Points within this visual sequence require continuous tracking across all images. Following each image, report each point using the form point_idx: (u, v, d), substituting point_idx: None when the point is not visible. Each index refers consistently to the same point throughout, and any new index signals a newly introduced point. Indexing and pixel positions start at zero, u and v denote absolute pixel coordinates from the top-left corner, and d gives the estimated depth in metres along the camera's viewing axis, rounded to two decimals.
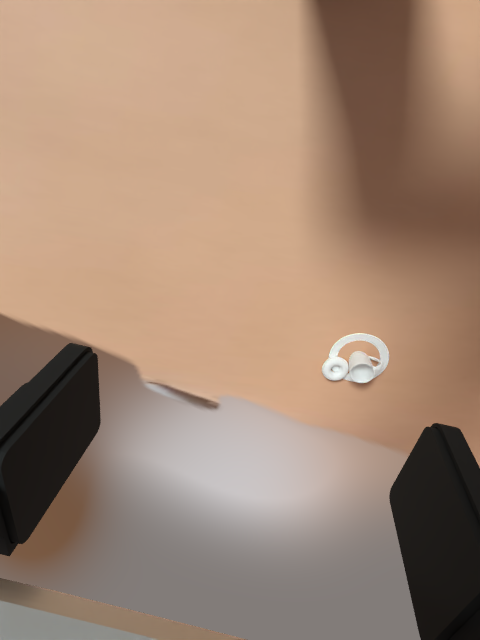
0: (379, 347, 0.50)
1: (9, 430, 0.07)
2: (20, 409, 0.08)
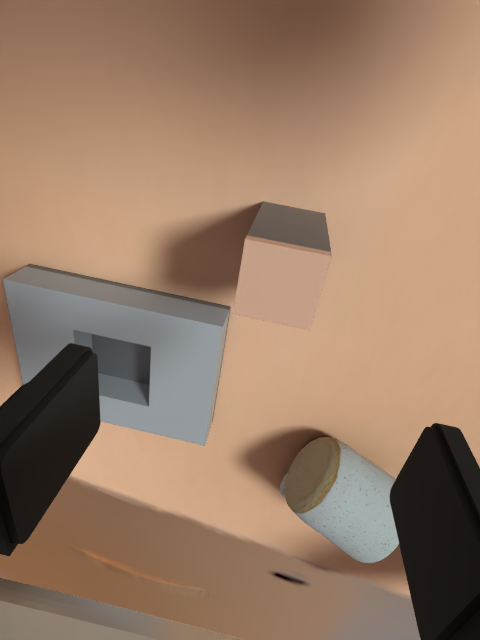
0: None
1: (9, 429, 0.07)
2: (20, 409, 0.08)
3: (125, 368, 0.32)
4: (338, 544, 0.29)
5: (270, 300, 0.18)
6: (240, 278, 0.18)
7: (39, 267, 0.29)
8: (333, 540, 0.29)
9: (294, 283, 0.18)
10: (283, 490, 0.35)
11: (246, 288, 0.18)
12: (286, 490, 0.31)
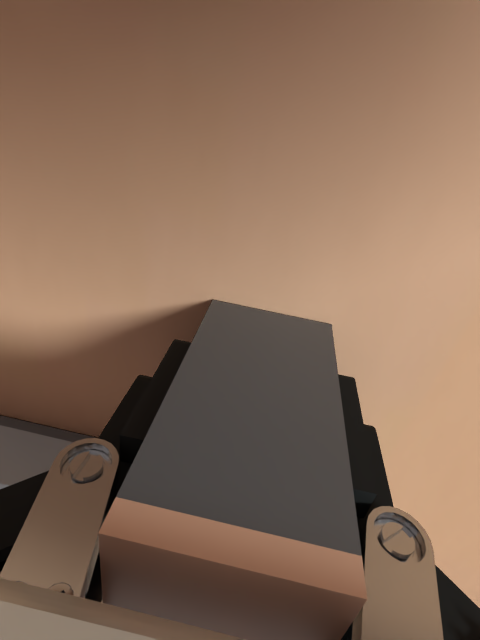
0: None
1: (155, 415, 0.08)
2: (157, 397, 0.09)
3: None
4: None
5: None
6: (107, 599, 0.06)
7: None
8: None
9: (256, 628, 0.06)
10: None
11: None
12: None
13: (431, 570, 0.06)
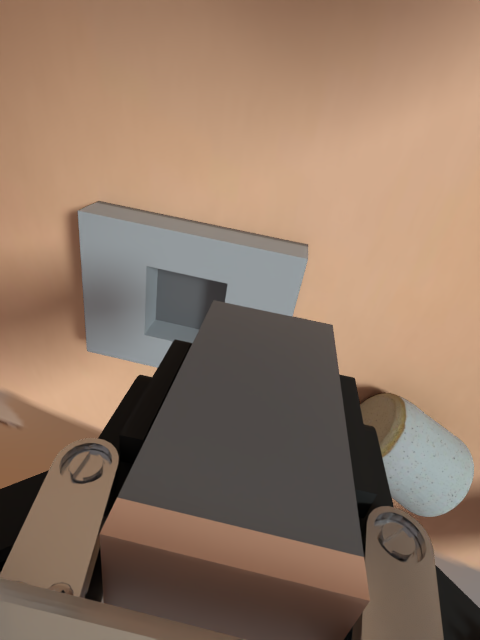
0: None
1: (155, 415, 0.08)
2: (156, 397, 0.09)
3: (189, 315, 0.31)
4: (401, 497, 0.29)
5: None
6: (108, 600, 0.06)
7: (109, 204, 0.28)
8: (397, 493, 0.29)
9: (258, 629, 0.06)
10: None
11: None
12: None
13: (431, 570, 0.06)
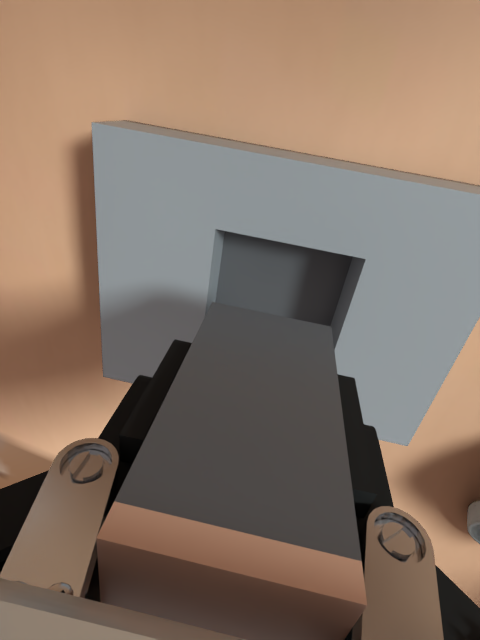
0: None
1: (155, 415, 0.08)
2: (156, 397, 0.09)
3: None
4: None
5: None
6: None
7: (144, 124, 0.16)
8: None
9: (256, 633, 0.06)
10: (474, 526, 0.23)
11: None
12: None
13: (431, 570, 0.06)
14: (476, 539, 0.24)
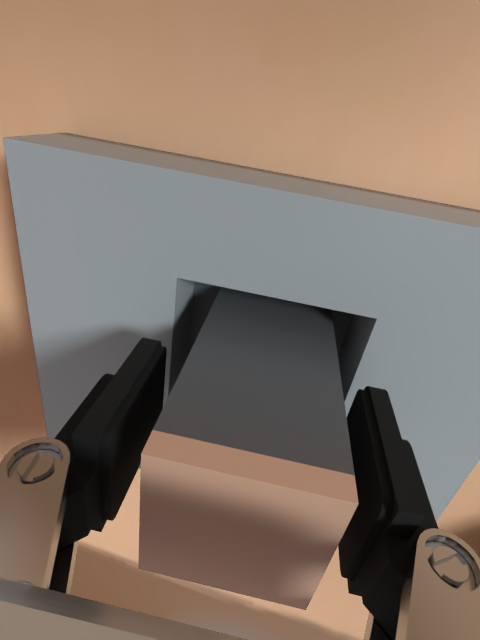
0: None
1: (112, 414, 0.08)
2: (116, 396, 0.09)
3: None
4: None
5: (215, 558, 0.08)
6: (143, 518, 0.08)
7: (88, 138, 0.12)
8: None
9: (268, 539, 0.07)
10: None
11: (160, 535, 0.08)
12: None
13: None
14: None
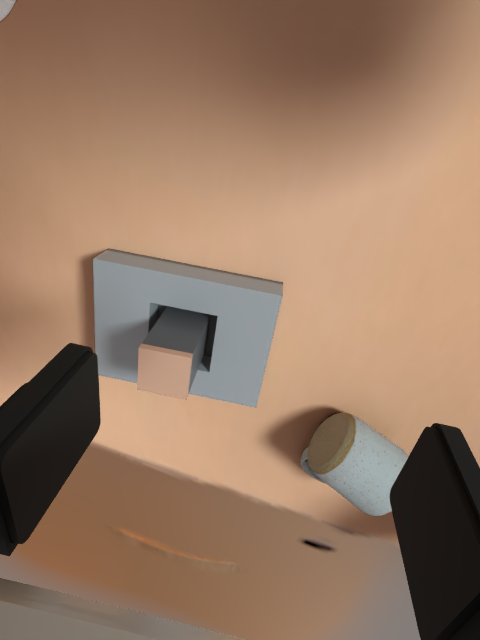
0: None
1: (9, 429, 0.07)
2: (20, 409, 0.08)
3: None
4: (355, 500, 0.35)
5: (159, 382, 0.29)
6: (139, 369, 0.29)
7: (117, 251, 0.33)
8: (351, 496, 0.35)
9: (172, 372, 0.28)
10: (303, 463, 0.41)
11: (143, 375, 0.29)
12: (309, 458, 0.37)
13: None
14: (307, 472, 0.42)
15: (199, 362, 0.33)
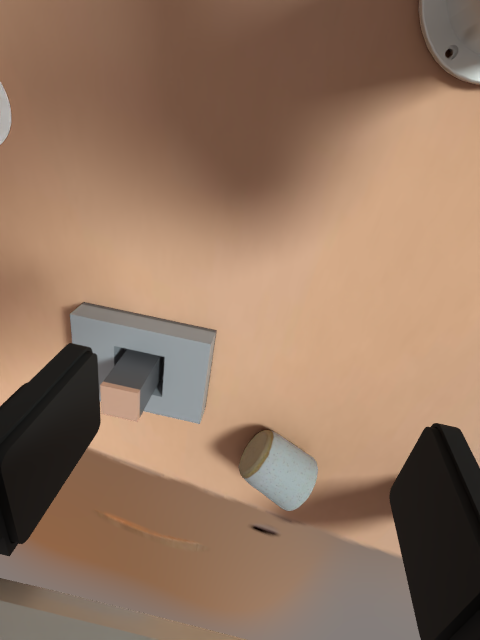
0: None
1: (9, 429, 0.07)
2: (20, 409, 0.08)
3: None
4: (271, 498, 0.45)
5: (116, 409, 0.39)
6: (101, 399, 0.39)
7: (90, 304, 0.44)
8: (268, 496, 0.45)
9: (125, 403, 0.39)
10: None
11: (105, 403, 0.39)
12: (240, 465, 0.47)
13: None
14: None
15: (152, 390, 0.44)
